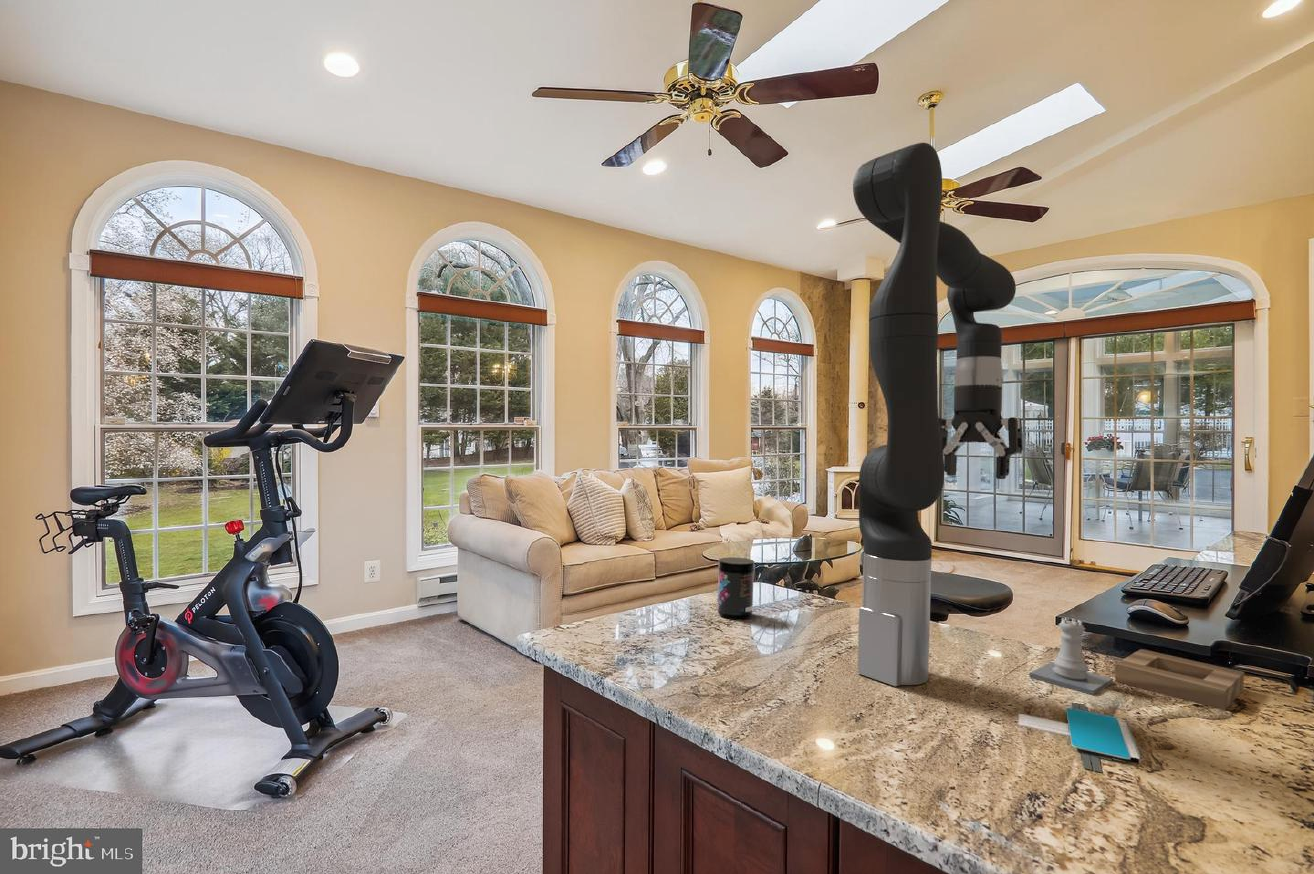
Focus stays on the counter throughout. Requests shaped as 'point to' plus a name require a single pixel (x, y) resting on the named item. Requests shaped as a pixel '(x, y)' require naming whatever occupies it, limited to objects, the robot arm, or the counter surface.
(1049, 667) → the slate coaster
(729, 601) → the supplement container
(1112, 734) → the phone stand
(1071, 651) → the rook chess piece
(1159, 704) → the counter surface
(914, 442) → the robot arm
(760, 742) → the counter surface
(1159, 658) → the pocket block
